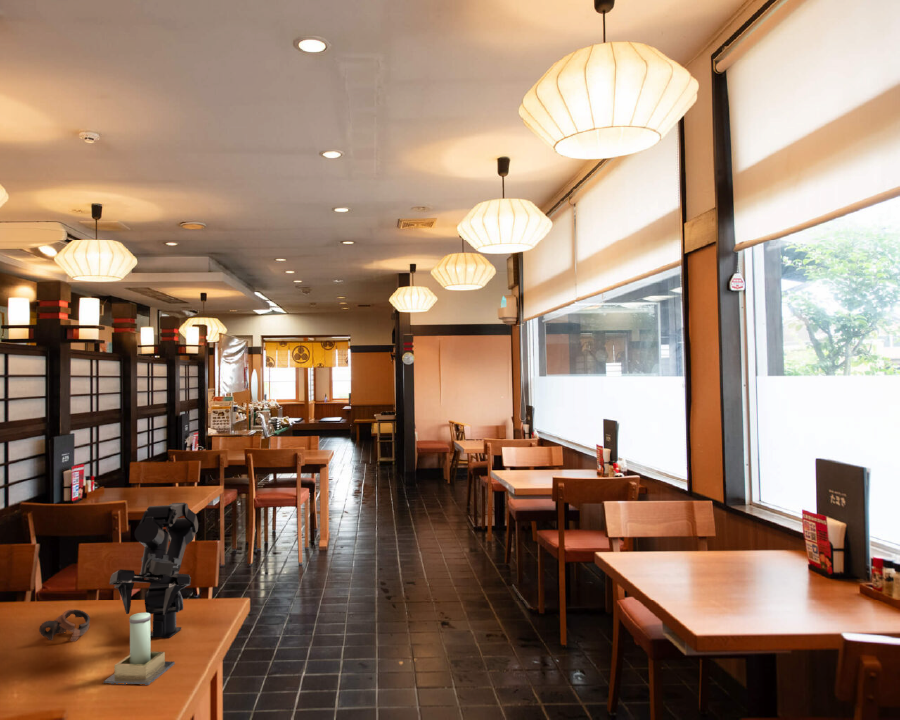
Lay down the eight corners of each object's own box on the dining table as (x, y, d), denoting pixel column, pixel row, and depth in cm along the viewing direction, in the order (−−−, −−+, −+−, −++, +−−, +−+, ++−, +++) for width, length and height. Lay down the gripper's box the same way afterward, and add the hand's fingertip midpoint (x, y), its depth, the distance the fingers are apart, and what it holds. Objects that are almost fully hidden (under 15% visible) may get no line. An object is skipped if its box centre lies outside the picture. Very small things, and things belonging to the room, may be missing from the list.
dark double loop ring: (74, 630, 182) (87, 605, 181) (84, 653, 176) (98, 627, 175) (28, 633, 172) (42, 606, 172) (38, 657, 166) (52, 630, 166)
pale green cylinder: (129, 669, 152) (129, 614, 153) (150, 665, 154) (150, 611, 155) (129, 677, 148) (129, 620, 149) (151, 672, 150) (150, 617, 151)
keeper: (132, 663, 157) (132, 648, 157) (174, 664, 156) (174, 649, 156) (103, 683, 146) (103, 667, 146) (148, 685, 145) (148, 669, 145)
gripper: (130, 541, 158) (119, 608, 151) (202, 549, 170) (196, 610, 162) (114, 551, 165) (103, 615, 157) (185, 557, 177) (177, 617, 169)
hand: (146, 614), depth 161 cm, fingers open, 9 cm apart
